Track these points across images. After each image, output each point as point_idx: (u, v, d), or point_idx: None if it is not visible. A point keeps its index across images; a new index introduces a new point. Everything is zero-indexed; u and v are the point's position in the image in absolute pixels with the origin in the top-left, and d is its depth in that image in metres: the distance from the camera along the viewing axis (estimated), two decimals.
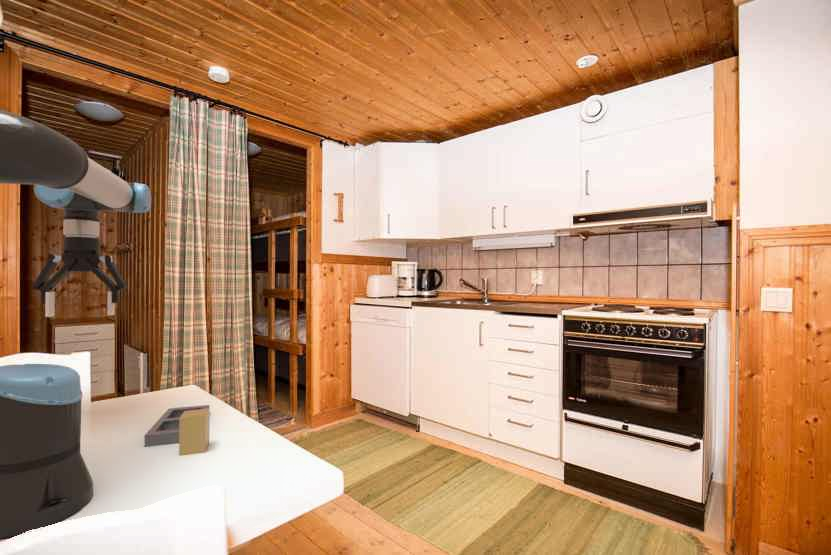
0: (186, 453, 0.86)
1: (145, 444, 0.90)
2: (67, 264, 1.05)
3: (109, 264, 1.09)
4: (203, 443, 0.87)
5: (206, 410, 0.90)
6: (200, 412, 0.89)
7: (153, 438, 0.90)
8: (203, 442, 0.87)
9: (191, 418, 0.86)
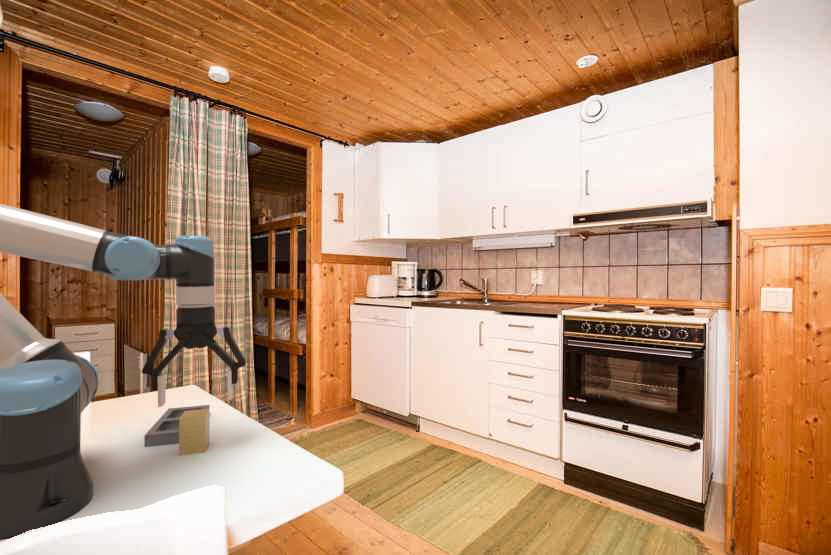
0: (186, 453, 0.86)
1: (145, 444, 0.90)
2: (182, 341, 0.86)
3: (228, 337, 0.90)
4: (203, 443, 0.87)
5: (206, 410, 0.90)
6: (200, 412, 0.89)
7: (153, 438, 0.90)
8: (203, 442, 0.87)
9: (191, 418, 0.86)
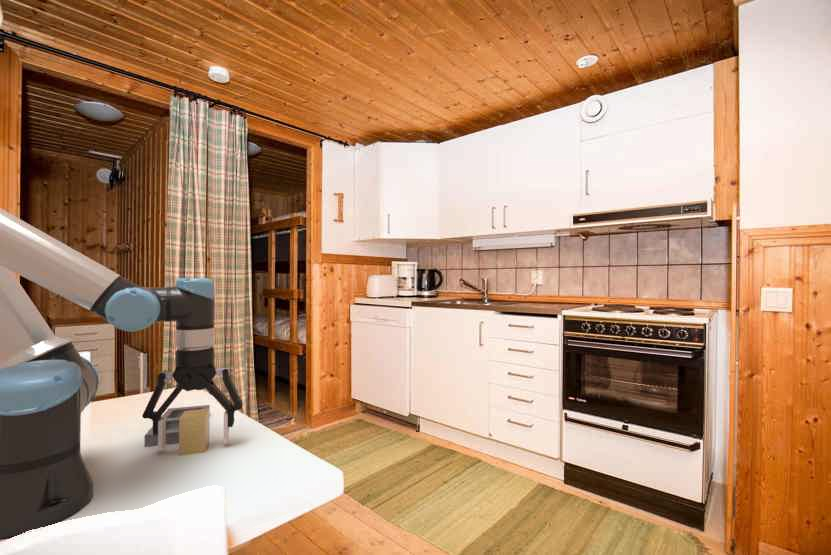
0: (186, 453, 0.86)
1: (145, 444, 0.90)
2: (181, 384, 0.86)
3: (227, 380, 0.89)
4: (203, 443, 0.87)
5: (206, 410, 0.90)
6: (200, 412, 0.89)
7: (153, 438, 0.90)
8: (203, 442, 0.87)
9: (191, 418, 0.86)
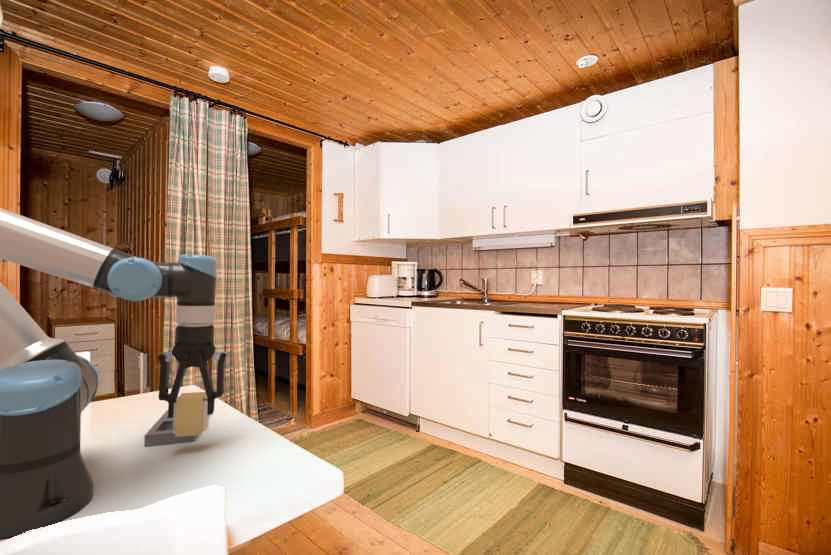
0: (182, 435, 0.85)
1: (145, 444, 0.90)
2: (182, 361, 0.86)
3: (221, 364, 0.89)
4: (199, 425, 0.86)
5: (203, 393, 0.90)
6: (198, 394, 0.89)
7: (153, 438, 0.90)
8: (199, 424, 0.86)
9: (188, 399, 0.86)
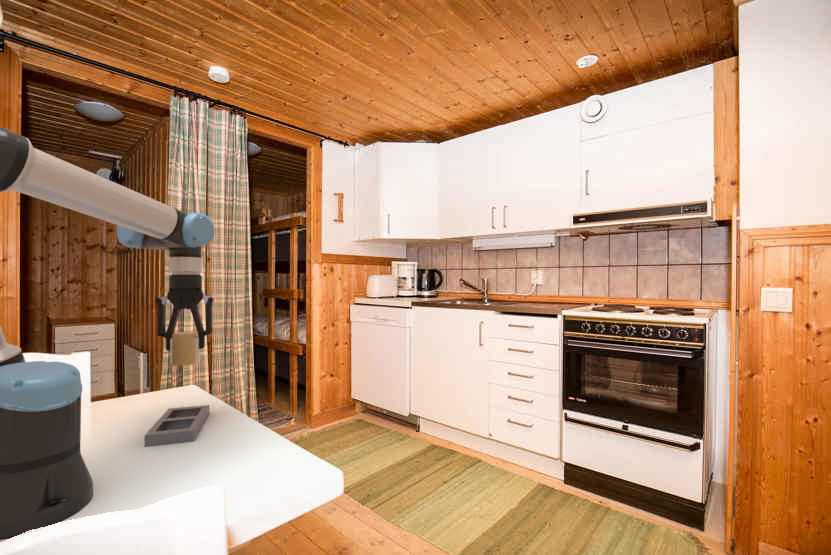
0: (178, 364, 1.02)
1: (145, 444, 0.90)
2: (176, 304, 1.03)
3: (208, 306, 1.06)
4: (192, 356, 1.03)
5: (195, 331, 1.07)
6: (190, 332, 1.06)
7: (153, 438, 0.90)
8: (192, 356, 1.04)
9: (182, 335, 1.03)
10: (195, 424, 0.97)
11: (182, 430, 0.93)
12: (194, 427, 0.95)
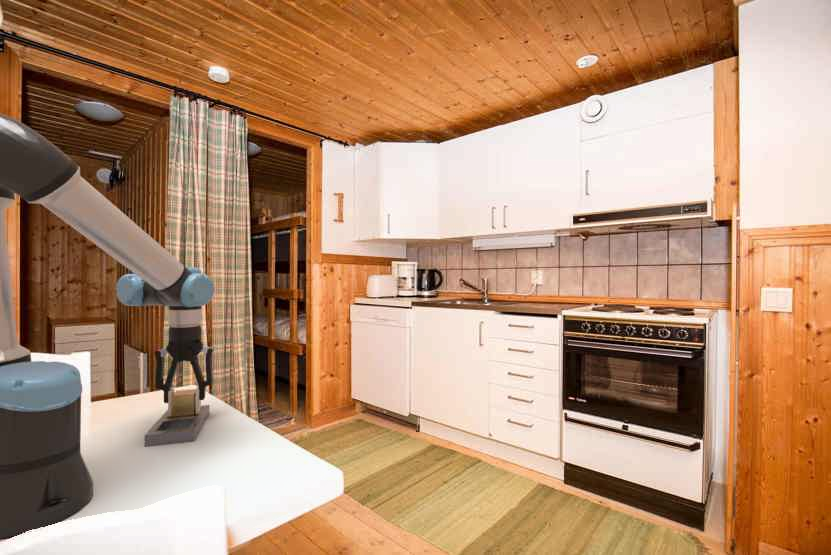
0: None
1: (145, 444, 0.90)
2: (175, 356, 1.03)
3: (208, 358, 1.06)
4: None
5: (194, 390, 1.07)
6: (189, 391, 1.06)
7: (153, 438, 0.90)
8: None
9: (181, 396, 1.03)
10: (195, 424, 0.97)
11: (182, 430, 0.93)
12: (194, 427, 0.95)
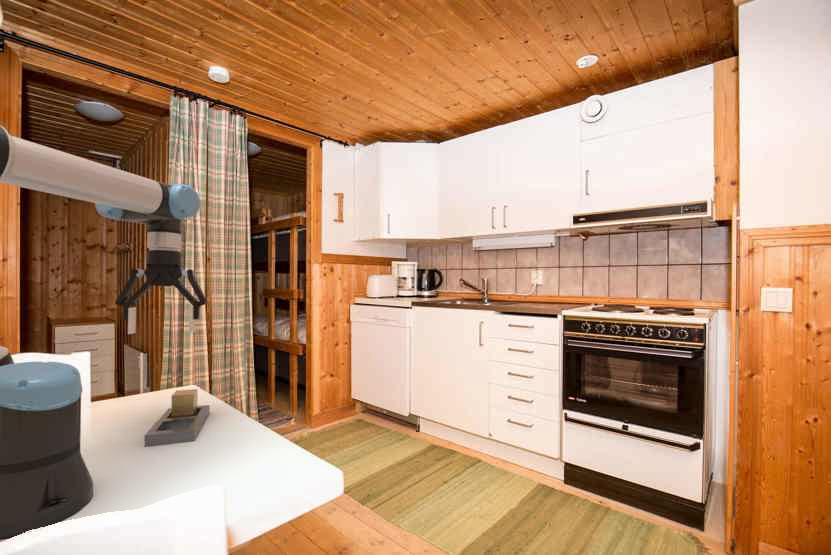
0: None
1: (145, 444, 0.90)
2: (150, 278, 1.01)
3: (191, 278, 1.04)
4: None
5: (194, 390, 1.07)
6: (189, 391, 1.06)
7: (153, 438, 0.90)
8: None
9: (181, 396, 1.03)
10: (195, 424, 0.97)
11: (182, 430, 0.93)
12: (194, 427, 0.95)
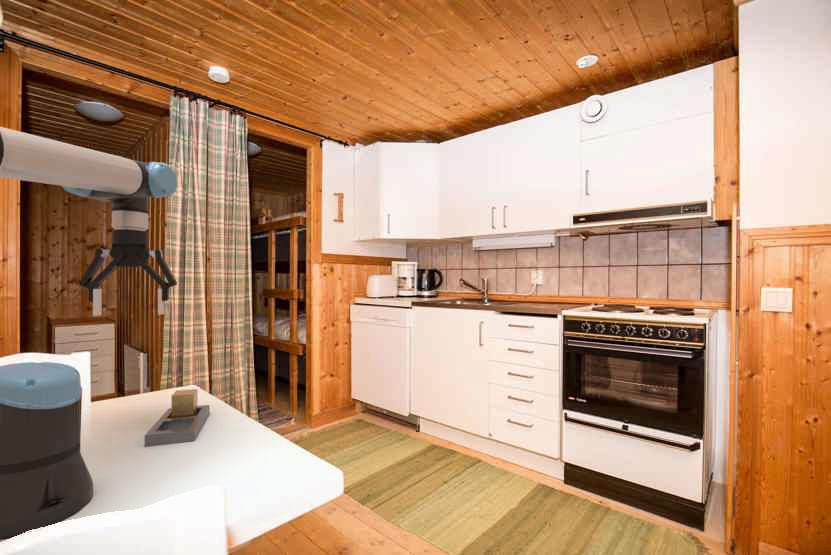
0: None
1: (145, 444, 0.90)
2: (116, 259, 0.98)
3: (159, 259, 1.01)
4: None
5: (194, 390, 1.07)
6: (189, 391, 1.06)
7: (153, 438, 0.90)
8: None
9: (181, 396, 1.03)
10: (195, 424, 0.97)
11: (182, 430, 0.93)
12: (194, 427, 0.95)
